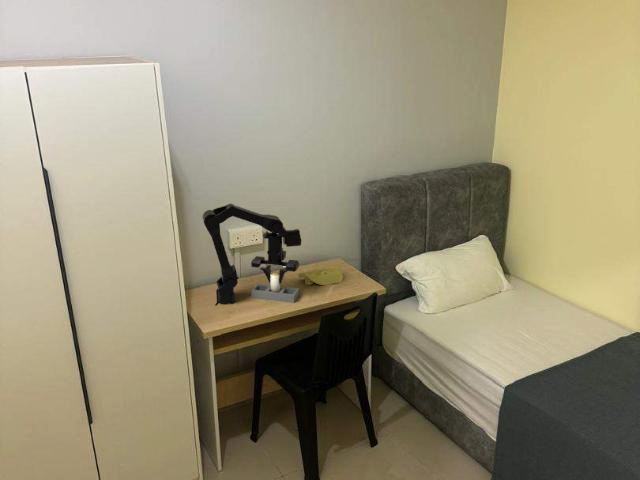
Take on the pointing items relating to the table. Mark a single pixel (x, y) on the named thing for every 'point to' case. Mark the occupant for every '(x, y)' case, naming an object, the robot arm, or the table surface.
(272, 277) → the plug
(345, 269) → the table surface
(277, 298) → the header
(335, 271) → the plastic component
